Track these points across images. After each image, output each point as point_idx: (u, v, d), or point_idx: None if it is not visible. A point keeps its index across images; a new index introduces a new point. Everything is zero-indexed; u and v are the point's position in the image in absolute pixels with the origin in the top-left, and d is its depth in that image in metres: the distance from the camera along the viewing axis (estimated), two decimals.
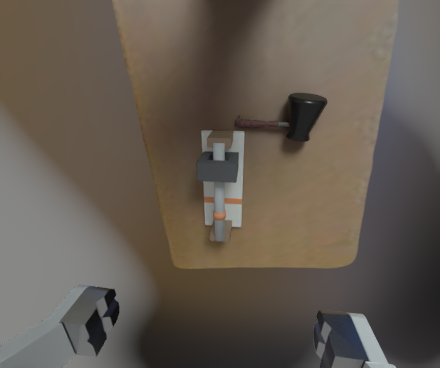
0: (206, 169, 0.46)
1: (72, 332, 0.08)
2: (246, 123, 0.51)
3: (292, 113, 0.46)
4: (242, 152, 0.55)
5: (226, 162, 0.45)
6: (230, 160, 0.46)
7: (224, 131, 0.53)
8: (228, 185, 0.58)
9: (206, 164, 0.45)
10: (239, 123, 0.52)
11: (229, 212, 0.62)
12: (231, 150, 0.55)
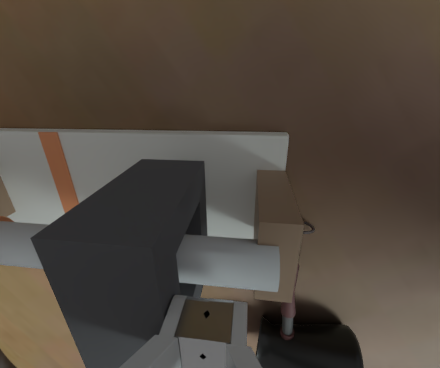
0: (120, 292, 0.08)
1: (186, 347, 0.07)
2: None
3: (322, 365, 0.19)
4: None
5: None
6: None
7: None
8: None
9: (150, 295, 0.08)
10: None
11: (37, 206, 0.21)
12: (225, 220, 0.19)
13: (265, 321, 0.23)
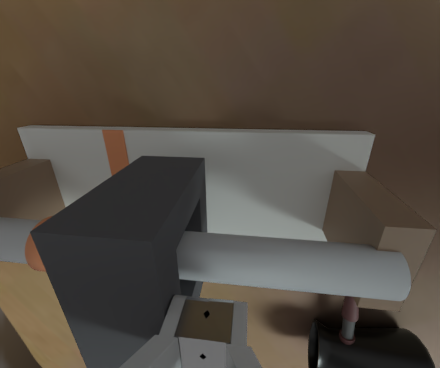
0: (120, 287, 0.08)
1: (186, 347, 0.07)
2: None
3: None
4: None
5: None
6: None
7: None
8: None
9: (150, 290, 0.08)
10: None
11: None
12: (292, 223, 0.18)
13: (320, 325, 0.22)
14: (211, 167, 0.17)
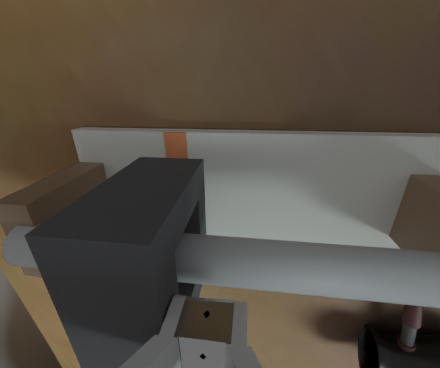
0: (117, 291, 0.08)
1: (186, 347, 0.07)
2: None
3: None
4: None
5: None
6: None
7: None
8: (237, 213, 0.18)
9: (147, 294, 0.07)
10: None
11: None
12: (357, 228, 0.17)
13: (375, 331, 0.22)
14: (277, 171, 0.16)
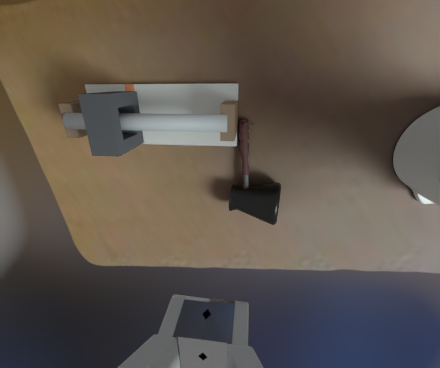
0: (100, 110, 0.29)
1: (185, 347, 0.07)
2: (244, 135, 0.39)
3: (261, 192, 0.39)
4: (209, 144, 0.40)
5: (118, 140, 0.31)
6: (124, 142, 0.33)
7: (237, 119, 0.38)
8: None
9: (108, 110, 0.29)
10: (244, 126, 0.38)
11: None
12: None
13: (235, 185, 0.43)
14: (173, 101, 0.38)
